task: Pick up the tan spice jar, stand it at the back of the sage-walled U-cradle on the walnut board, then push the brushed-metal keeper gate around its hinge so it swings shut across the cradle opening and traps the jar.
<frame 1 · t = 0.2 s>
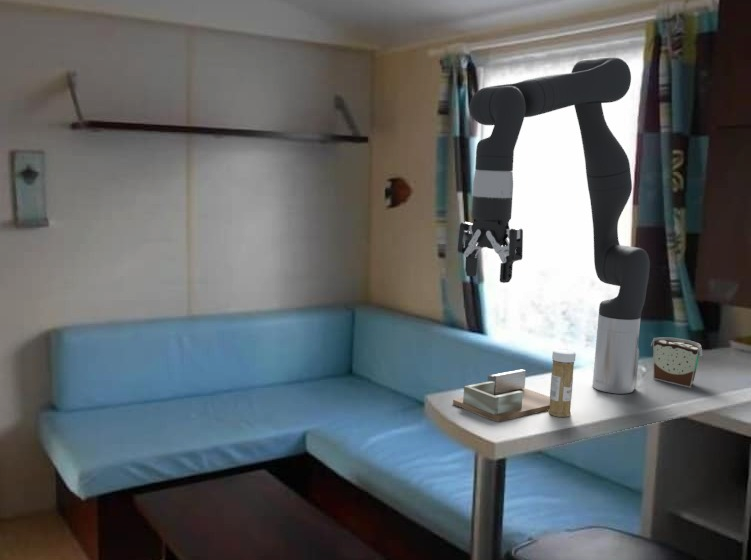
hand: (487, 279, 152), 28 cm above the table, tool pointing down, fingers open, 8 cm apart
keeper gate: (506, 381, 173), point 3 cm above the table, hinge at 0.0°
cradle board: (508, 405, 167), on the table
food container: (677, 381, 192), on the table
tan spice jar: (559, 415, 163), on the table
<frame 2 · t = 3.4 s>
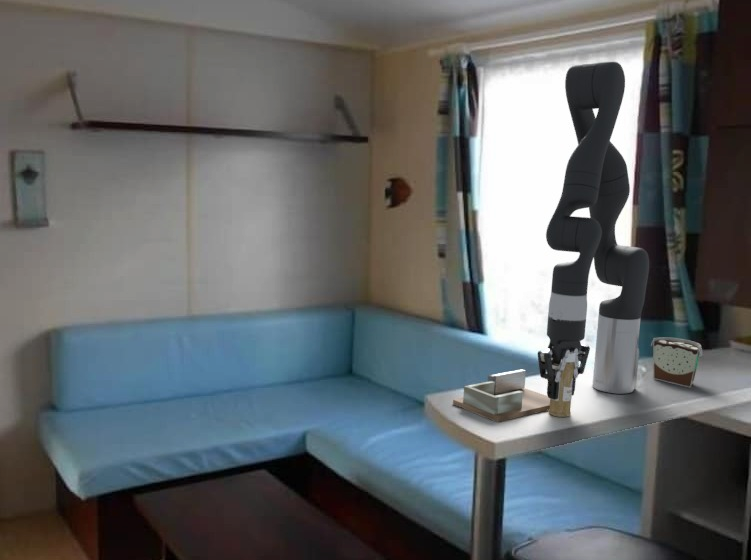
hand: (560, 396, 162), 4 cm above the table, tool pointing down, fingers closed on tan spice jar, 4 cm apart
tan spice jar: (559, 415, 163), on the table, touching gripper
everything else where it was.
when the fingers open (6 cm above the table, at t = 9.8 s): tan spice jar drops 1 cm, resting on cradle board.
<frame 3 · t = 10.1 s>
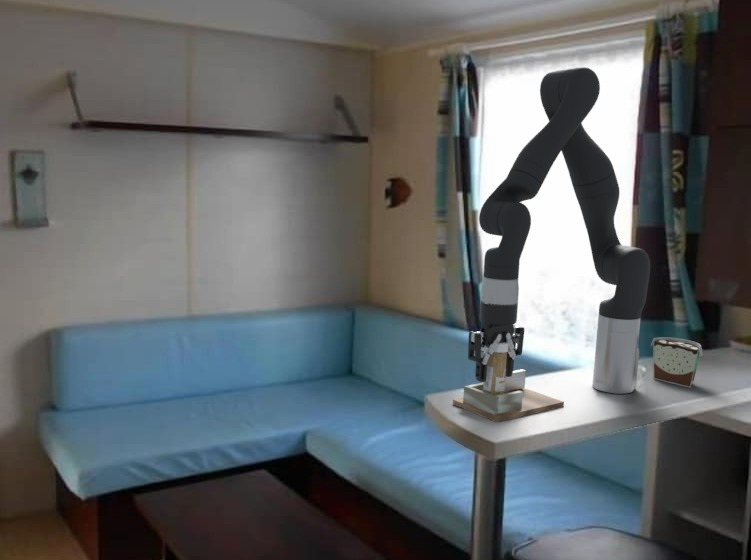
hand: (494, 378, 162), 7 cm above the table, tool pointing down, fingers open, 7 cm apart
tan spice jar: (492, 405, 163), point 1 cm above the table, touching cradle board
everything else where it was.
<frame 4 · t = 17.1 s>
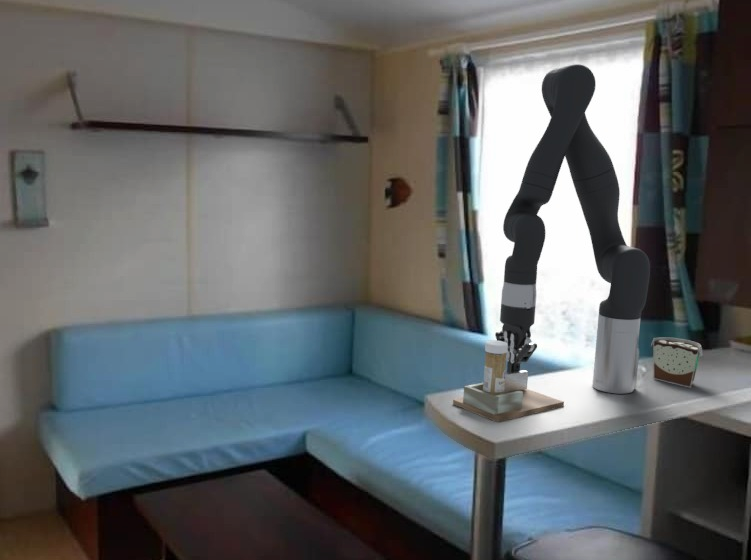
hand: (512, 378, 177), 3 cm above the table, tool pointing down, fingers closed
keeper gate: (507, 382, 172), point 3 cm above the table, hinge at -4.5°, touching gripper
everything else where it was.
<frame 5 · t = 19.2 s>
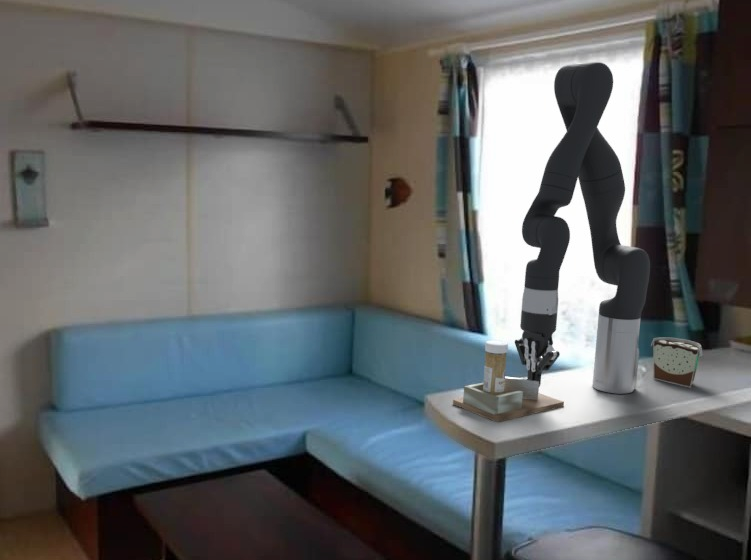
hand: (533, 387, 170), 3 cm above the table, tool pointing down, fingers closed
keeper gate: (512, 387, 169), point 3 cm above the table, hinge at -50.7°
everything else where it was.
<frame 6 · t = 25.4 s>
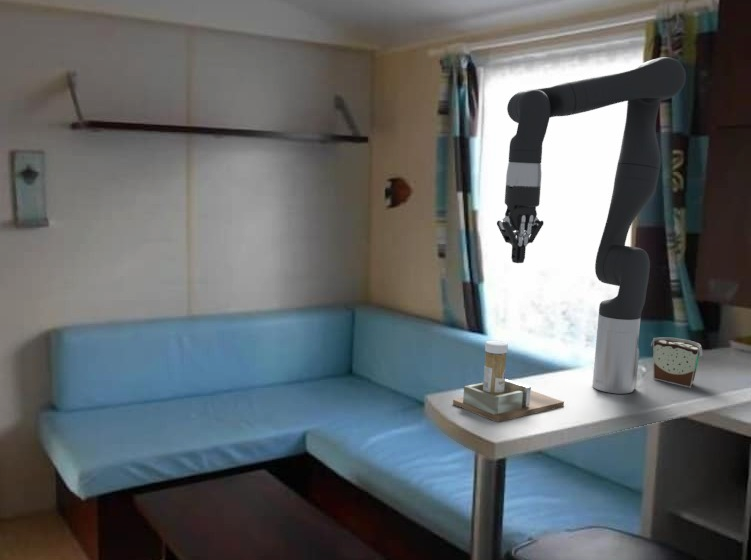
hand: (517, 262, 174), 29 cm above the table, tool pointing down, fingers closed
keeper gate: (507, 390, 166), point 3 cm above the table, hinge at -86.1°
everything else where it was.
at the end: tan spice jar 0.0 cm from the target spot, point 0.8 cm above the table; tan spice jar tilted 0°; keeper gate at -86° (first picture: +0°) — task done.
